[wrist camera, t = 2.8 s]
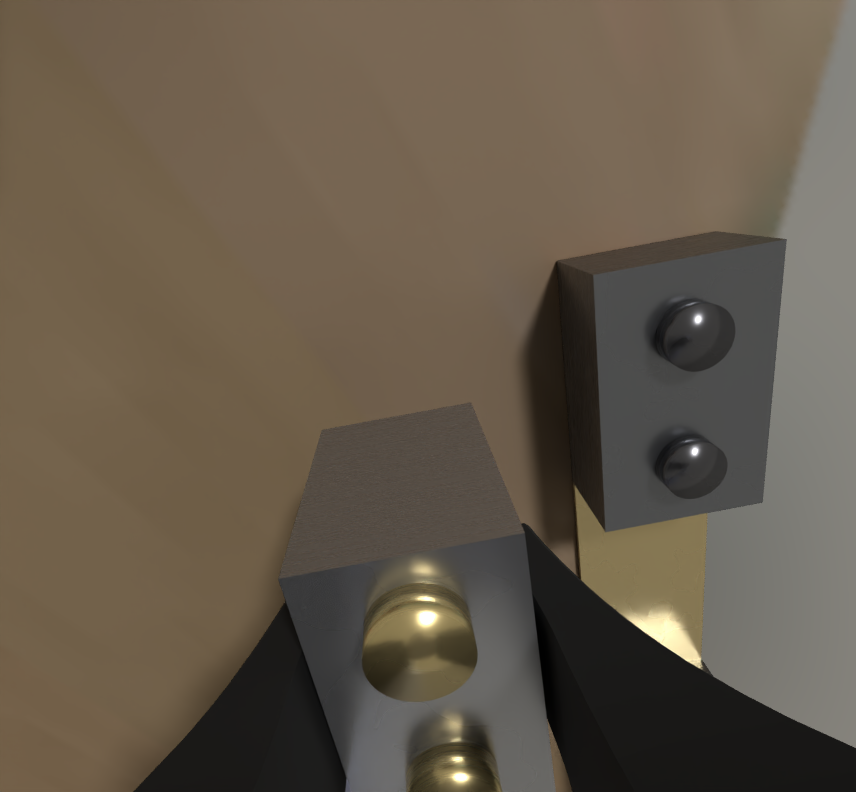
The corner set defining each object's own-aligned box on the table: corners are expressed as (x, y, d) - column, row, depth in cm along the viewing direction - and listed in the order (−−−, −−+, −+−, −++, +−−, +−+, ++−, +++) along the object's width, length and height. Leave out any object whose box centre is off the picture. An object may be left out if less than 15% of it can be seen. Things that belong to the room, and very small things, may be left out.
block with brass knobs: (500, 602, 14) (567, 841, 9) (374, 626, 14) (366, 880, 9) (471, 402, 12) (536, 561, 7) (321, 430, 12) (269, 610, 7)
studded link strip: (693, 770, 25) (740, 858, 22) (595, 789, 25) (626, 880, 22) (715, 231, 16) (804, 241, 12) (556, 260, 16) (602, 278, 12)
